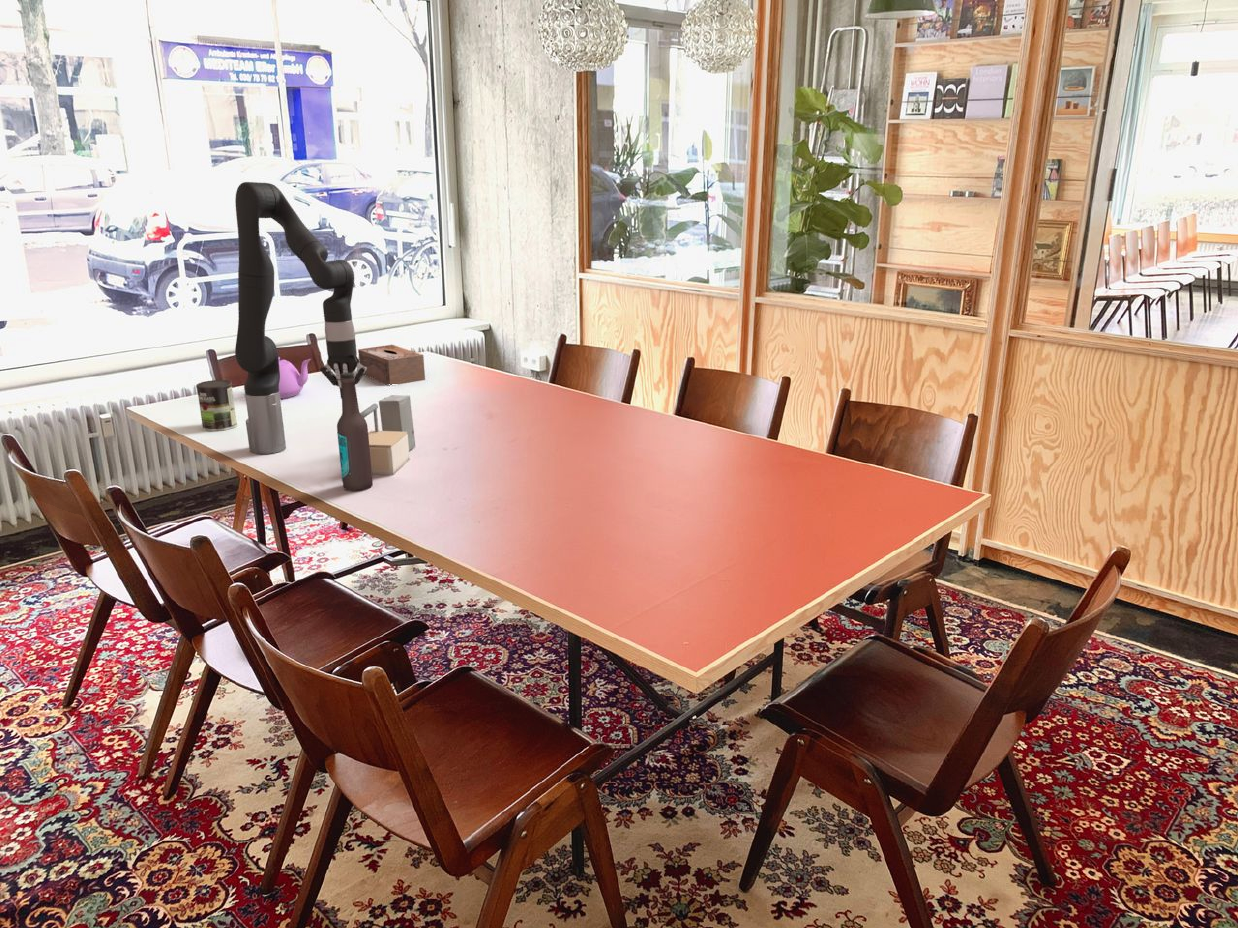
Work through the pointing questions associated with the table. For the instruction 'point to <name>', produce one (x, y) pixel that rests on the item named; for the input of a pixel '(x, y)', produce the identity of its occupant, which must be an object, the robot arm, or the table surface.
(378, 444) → the flap
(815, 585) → the table surface
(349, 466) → the beer bottle
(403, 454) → the carton
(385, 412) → the skincare box
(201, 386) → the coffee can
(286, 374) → the teapot
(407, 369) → the tissue box cover
